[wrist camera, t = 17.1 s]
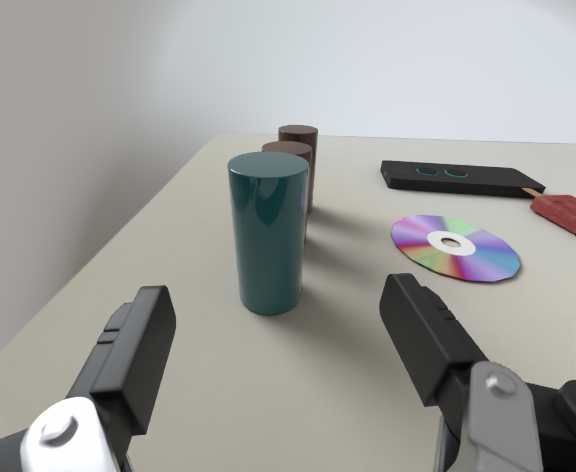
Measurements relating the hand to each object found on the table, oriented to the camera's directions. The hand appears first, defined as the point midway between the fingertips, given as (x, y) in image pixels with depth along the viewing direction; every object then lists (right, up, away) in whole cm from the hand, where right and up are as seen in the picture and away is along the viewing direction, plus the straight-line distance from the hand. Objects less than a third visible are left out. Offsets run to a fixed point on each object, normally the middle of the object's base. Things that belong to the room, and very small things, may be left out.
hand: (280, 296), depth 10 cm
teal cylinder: (-1, -2, +11) cm, 11 cm away
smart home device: (+25, +10, +31) cm, 41 cm away
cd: (+16, +1, +17) cm, 23 cm away
